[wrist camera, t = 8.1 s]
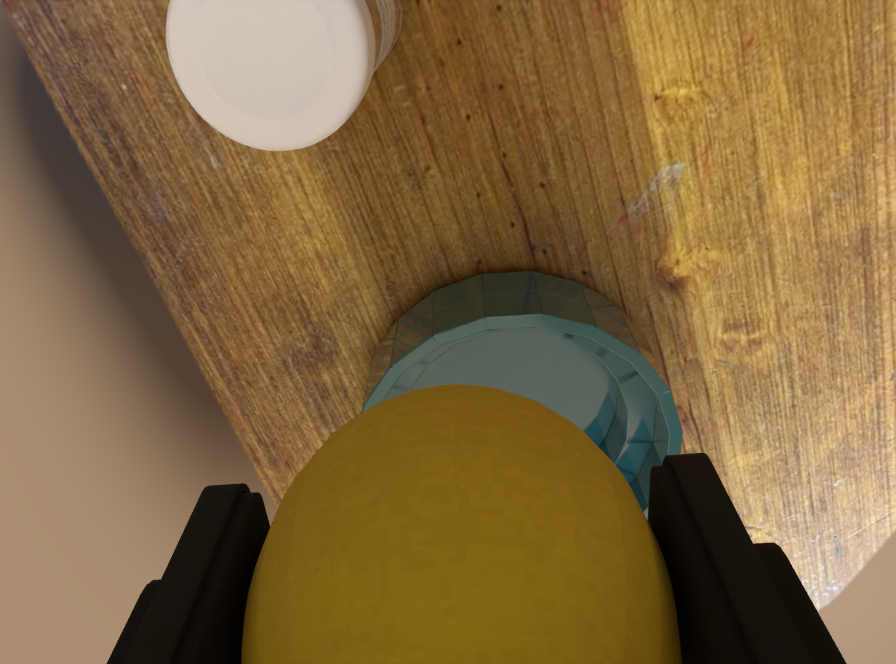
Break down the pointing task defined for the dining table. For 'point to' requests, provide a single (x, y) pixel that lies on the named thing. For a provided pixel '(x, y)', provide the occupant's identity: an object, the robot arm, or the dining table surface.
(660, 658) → the lemon
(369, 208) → the dining table surface
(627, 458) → the bowl
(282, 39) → the sprinkles bottle
